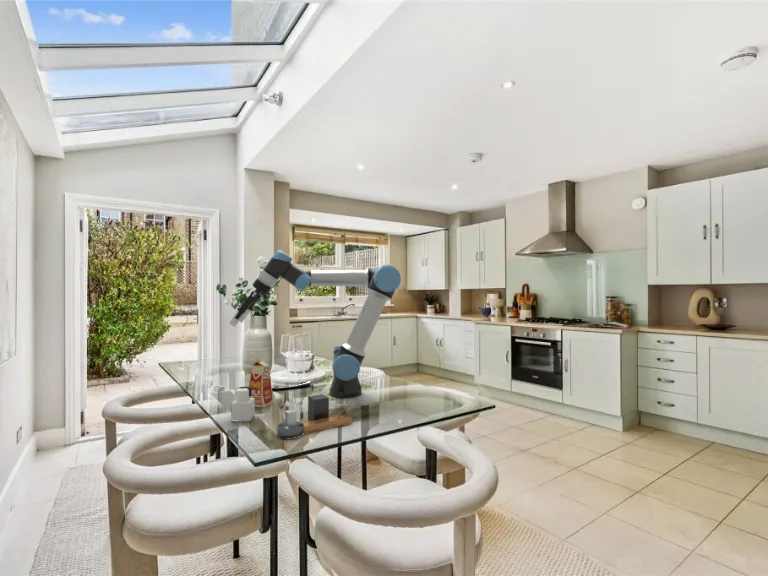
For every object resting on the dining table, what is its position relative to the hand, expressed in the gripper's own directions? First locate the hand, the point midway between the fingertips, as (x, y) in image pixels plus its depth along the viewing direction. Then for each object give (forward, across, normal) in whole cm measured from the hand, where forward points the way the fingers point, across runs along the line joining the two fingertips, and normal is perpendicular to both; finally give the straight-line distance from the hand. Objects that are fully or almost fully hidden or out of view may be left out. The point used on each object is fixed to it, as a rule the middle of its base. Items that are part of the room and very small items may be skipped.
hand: (235, 323), depth 174 cm
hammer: (+8, +34, +48) cm, 60 cm away
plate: (+22, -34, +33) cm, 52 cm away
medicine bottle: (+25, +20, +26) cm, 41 cm away
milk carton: (+23, 0, +28) cm, 37 cm away
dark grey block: (+8, +25, +49) cm, 56 cm away
